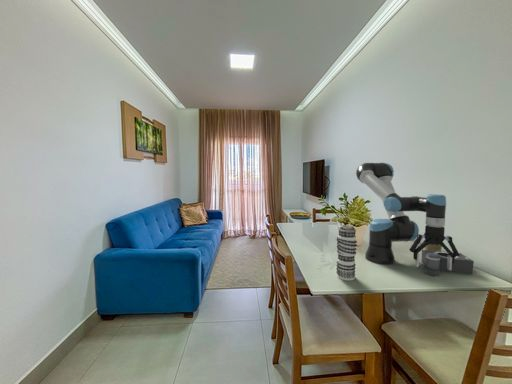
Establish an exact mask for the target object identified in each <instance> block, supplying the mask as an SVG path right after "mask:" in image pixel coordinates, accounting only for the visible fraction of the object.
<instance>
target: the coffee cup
mask: <svg viewBox="0 0 512 384" xmlns="http://www.w3.org/2000/svg"><path fill="white" fill-rule="evenodd" d="M423 235H425V232H424V234H423ZM424 240H426V239H425V238H424ZM442 249H443V247H442V246H441V245H440V244H439V245H435V244H434V245H431V244H429V245H427V246H426V247H425V248H424V250H429V251H441V252H442Z"/></svg>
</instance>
